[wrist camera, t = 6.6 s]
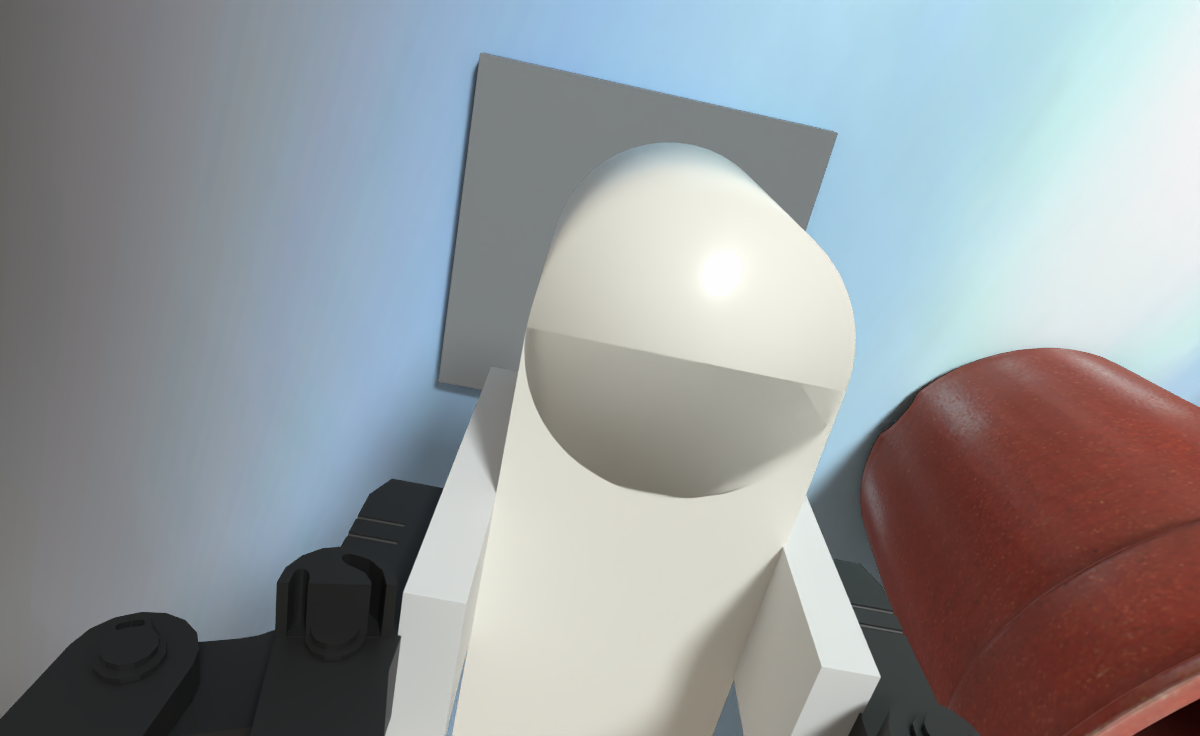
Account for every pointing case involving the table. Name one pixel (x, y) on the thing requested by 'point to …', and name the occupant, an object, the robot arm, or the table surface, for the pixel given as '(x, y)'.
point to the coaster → (556, 167)
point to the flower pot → (1045, 545)
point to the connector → (652, 451)
